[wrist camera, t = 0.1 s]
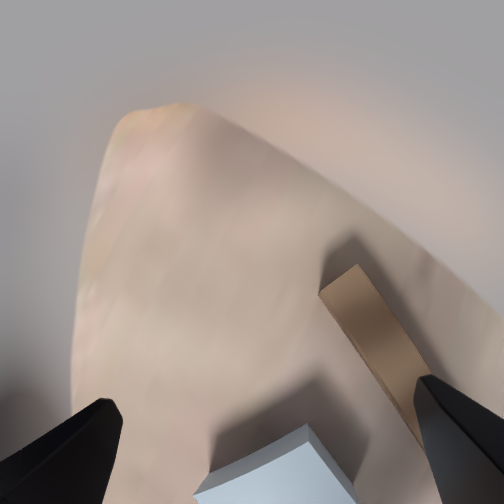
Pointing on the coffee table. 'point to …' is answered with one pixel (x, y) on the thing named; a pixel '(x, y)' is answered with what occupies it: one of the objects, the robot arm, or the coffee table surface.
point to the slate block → (281, 475)
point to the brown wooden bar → (378, 340)
